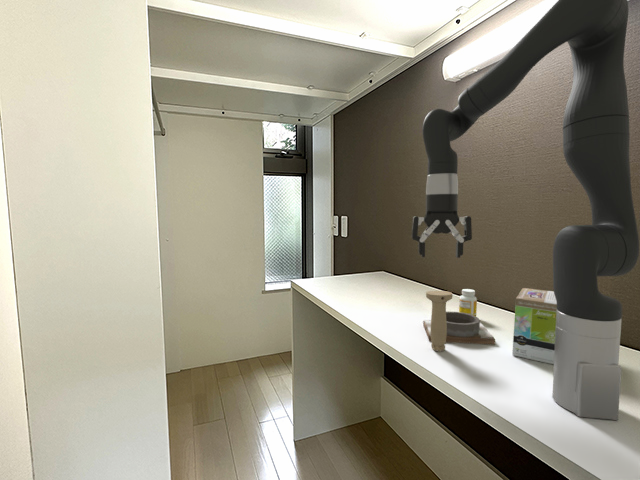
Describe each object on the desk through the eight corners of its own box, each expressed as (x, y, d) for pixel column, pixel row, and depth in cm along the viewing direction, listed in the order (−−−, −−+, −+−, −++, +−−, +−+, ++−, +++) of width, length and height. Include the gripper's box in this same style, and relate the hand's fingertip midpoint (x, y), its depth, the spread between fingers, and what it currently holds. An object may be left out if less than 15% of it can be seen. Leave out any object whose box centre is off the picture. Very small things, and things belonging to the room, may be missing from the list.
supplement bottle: (464, 321, 110) (464, 292, 109) (455, 316, 115) (456, 288, 114) (479, 320, 110) (480, 291, 110) (470, 315, 116) (471, 288, 115)
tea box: (561, 367, 77) (564, 304, 76) (511, 356, 83) (513, 297, 82) (562, 345, 89) (565, 291, 88) (519, 337, 95) (521, 286, 94)
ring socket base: (494, 344, 90) (495, 326, 90) (429, 341, 93) (429, 323, 93) (480, 328, 103) (481, 312, 103) (423, 325, 106) (423, 310, 106)
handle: (454, 353, 85) (455, 295, 84) (429, 353, 85) (430, 295, 84) (446, 345, 90) (447, 290, 89) (422, 346, 90) (423, 291, 89)
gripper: (413, 193, 82) (412, 258, 83) (476, 191, 79) (474, 259, 81) (411, 194, 89) (410, 254, 91) (468, 193, 87) (466, 255, 88)
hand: (440, 257), depth 86 cm, fingers open, 8 cm apart
